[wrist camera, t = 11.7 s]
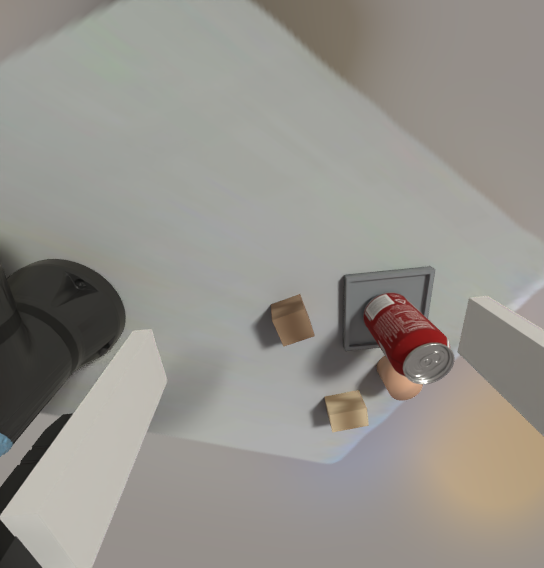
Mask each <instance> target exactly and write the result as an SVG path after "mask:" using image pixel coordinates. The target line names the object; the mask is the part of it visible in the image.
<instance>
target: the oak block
mask: <svg viewBox="0 0 544 568" xmlns="http://www.w3.org/2000/svg"><path fill="white" fill-rule="evenodd" d="M325 403H326V408H327V414H328V417H329V421H330V425H331V428H332V432H337V431H342V430H347V429H353V428H358V427H363V426H369V425H368V416H367V408H366V405H365V403H364V401H363V399H362V396H361V394H360V392H359V390H357V391H352V392H347V393H341V394H336V395H331V396H326V397H325Z"/></svg>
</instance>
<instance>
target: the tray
mask: <svg viewBox="0 0 544 568" xmlns="http://www.w3.org/2000/svg"><path fill="white" fill-rule="evenodd" d="M434 276H435V269H434V268H433V267H431V266H429V267H419V268H409V269H399V270H389V271H379V272H369V273H359V274H349V275H344V325H343V347H344V349H345V351H350V350H360V349H370V348H380V347H379V345H378V344H377V342H376V340H375V339H374V337H373V336H372V334H371V333H370V331H369V330H368V328H367V327H366V325H365V323H364V320H363V313H364V310H365V307H366V306H367V304H368V303H369V302H370V301H371V300H372V299H373V298H374V297H376V296H378V295H380V294H383V293H388V292H394V293H398V294H400V295H402V296H404V297H405V298H406V299H407V300H408V301H409V302H410V303H411V304H412V305H413V306H414V307H415V308H416V309H418V310H419V311H420V312H421V313H422V314H423V315H424V316H425V317H426V318H427V319H428V315H429V308H430V302H431V295H432V289H433V282H434Z"/></svg>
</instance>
